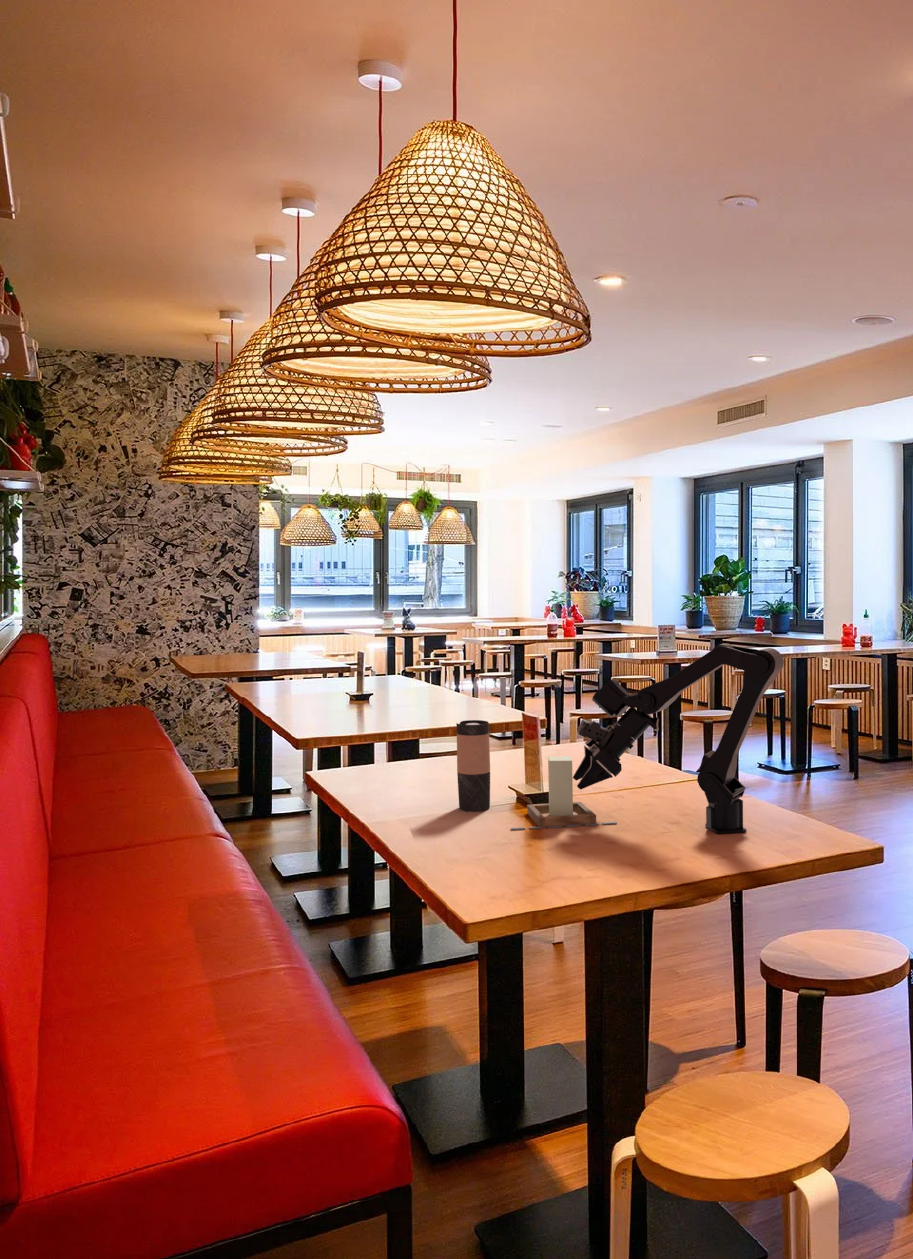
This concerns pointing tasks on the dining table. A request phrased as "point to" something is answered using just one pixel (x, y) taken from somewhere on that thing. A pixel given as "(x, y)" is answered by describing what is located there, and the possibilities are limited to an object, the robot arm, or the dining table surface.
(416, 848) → the dining table surface
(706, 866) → the dining table surface
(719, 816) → the robot arm
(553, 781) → the stub block
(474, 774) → the travel mug
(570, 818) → the stub tray
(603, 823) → the perforation line
